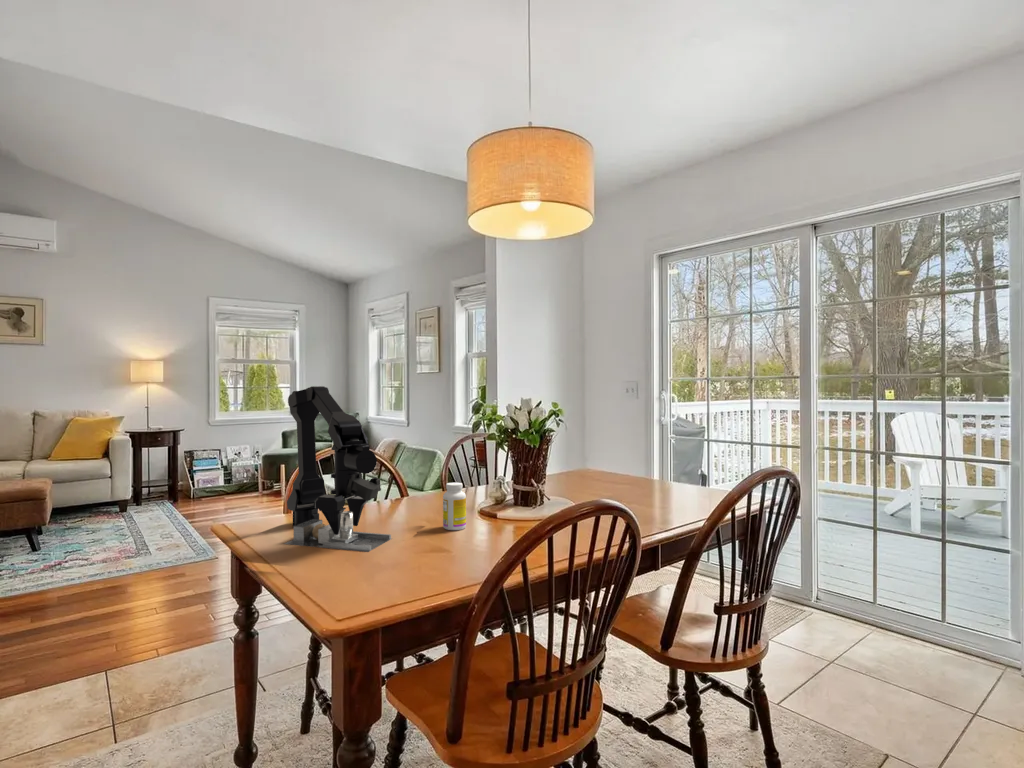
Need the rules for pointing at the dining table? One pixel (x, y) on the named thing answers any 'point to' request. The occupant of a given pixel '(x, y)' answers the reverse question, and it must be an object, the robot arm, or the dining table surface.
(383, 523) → the dining table surface
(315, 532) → the tan ball
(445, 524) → the supplement bottle
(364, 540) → the press base
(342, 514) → the ram
